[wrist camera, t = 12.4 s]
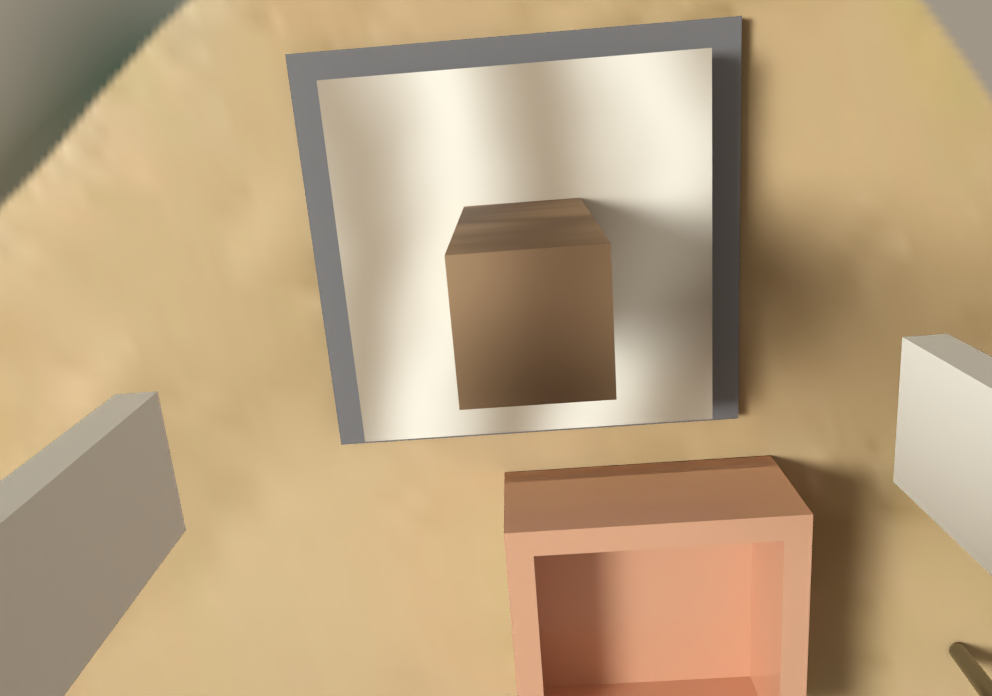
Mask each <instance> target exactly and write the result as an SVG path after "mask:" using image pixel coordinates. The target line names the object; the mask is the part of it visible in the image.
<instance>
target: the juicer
mask: <svg viewBox="0 0 992 696" xmlns="http://www.w3.org/2000/svg"><path fill="white" fill-rule="evenodd" d="M949 653H950V655H951V656H952V658H953V659H954V661H955V662H956V663H957V665H958V666H959V668H960V669H961V670H962V672H963V673H964V675H965V676H966V677H967V679H968V680H969V682H970V683H971V684H972V686H973V687H974V689H975V690H976V691H977V693H978V694H979V696H992V680H991V679H990V677H989V676H988V675H987V674H986V672H985V671H984V670H983V669H982V668H981V666H980V665H979V664H978V663H977V661H976V660H975V659H974V658H973V656H972V655H971V654H970V653H969V652H968V650H967V649H966V648H965V647H964V646H963V645H962V644H959V643H955V644H953V645H952V646H951V647H950V649H949Z"/></svg>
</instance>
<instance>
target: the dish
mask: <svg viewBox="0 0 992 696" xmlns="http://www.w3.org/2000/svg"><path fill="white" fill-rule="evenodd" d="M812 534H813V513H812V512H811V511H810V509H809V508H808V506H807V505H806V504H805V502H804V501H803V500H802V498H801V497H800V495H799V494H798V493H797V491H796V490H795V488H794V487H793V486H792V484H791V483H790V481H789V480H788V479H787V477H786V476H785V475H784V473H783V472H782V470H781V469H780V468H779V466H778V465H777V463H776V462H775V461H774V459H773V458H772V456H755V457H740V458H724V459H708V460H693V461H677V462H662V463H646V464H631V465H615V466H600V467H584V468H569V469H553V470H537V471H522V472H506V473H505V491H504V540H505V551H506V563H507V575H508V587H509V599H510V611H511V622H512V634H513V646H514V658H515V670H516V682H517V694H518V696H806V691H807V665H808V639H809V613H810V587H811V561H812Z"/></svg>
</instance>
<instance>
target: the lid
mask: <svg viewBox="0 0 992 696" xmlns="http://www.w3.org/2000/svg"><path fill="white" fill-rule="evenodd" d="M317 88H318V95H319V103H320V110H321V117H322V125H323V132H324V140H325V147H326V155H327V162H328V169H329V177H330V184H331V192H332V199H333V207H334V214H335V221H336V229H337V236H338V244H339V251H340V258H341V266H342V273H343V281H344V288H345V296H346V303H347V310H348V318H349V325H350V333H351V340H352V348H353V355H354V362H355V370H356V377H357V385H358V392H359V400H360V407H361V414H362V422H363V429H364V437H365V442H371V441H386V440H401V439H416V438H431V437H446V436H461V435H477V434H492V433H507V432H522V431H537V430H552V429H567V428H582V427H598V426H613V425H628V424H643V423H658V422H673V421H688V420H703V419H713V416H712V48H703V49H690V50H678V51H666V52H654V53H642V54H630V55H618V56H606V57H594V58H582V59H570V60H558V61H546V62H533V63H521V64H509V65H497V66H485V67H473V68H461V69H449V70H437V71H425V72H413V73H401V74H389V75H376V76H364V77H352V78H340V79H328V80H317Z"/></svg>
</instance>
